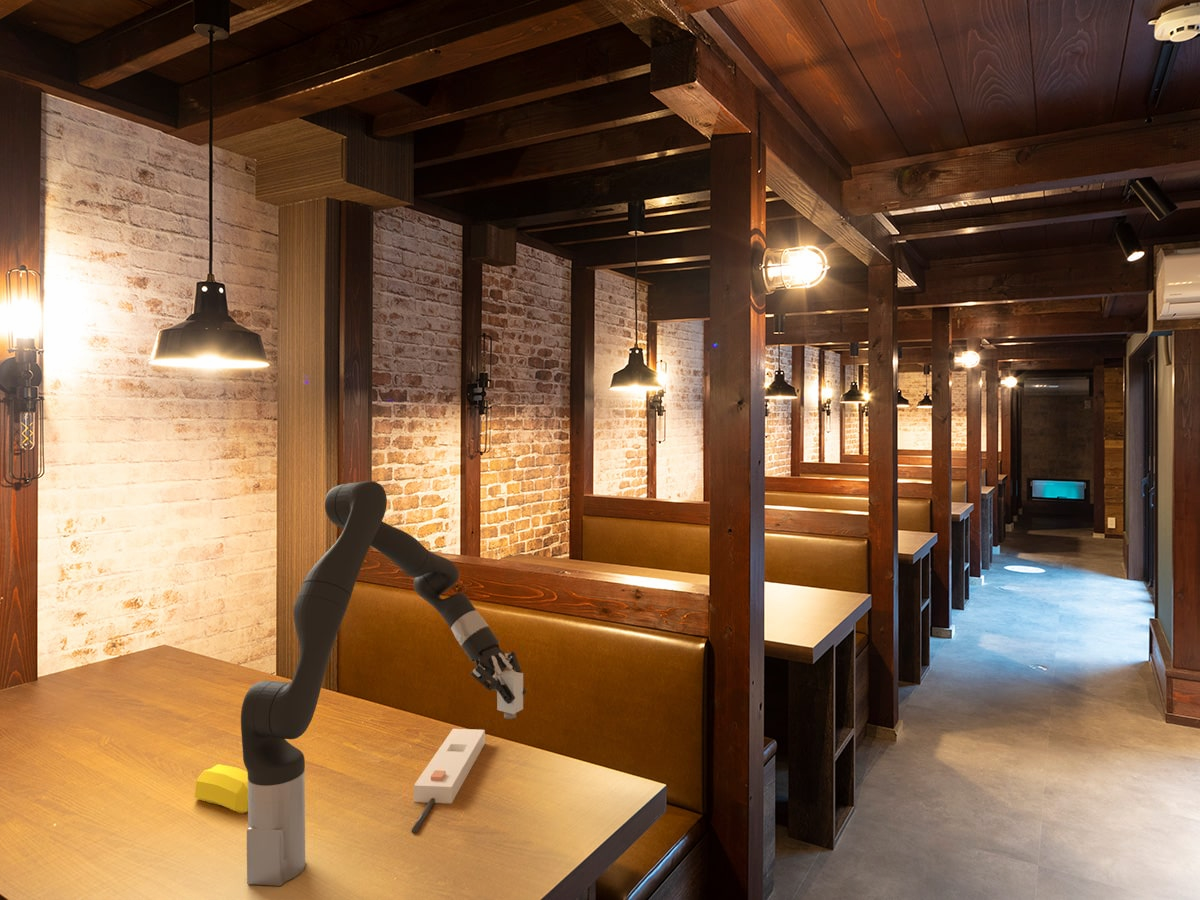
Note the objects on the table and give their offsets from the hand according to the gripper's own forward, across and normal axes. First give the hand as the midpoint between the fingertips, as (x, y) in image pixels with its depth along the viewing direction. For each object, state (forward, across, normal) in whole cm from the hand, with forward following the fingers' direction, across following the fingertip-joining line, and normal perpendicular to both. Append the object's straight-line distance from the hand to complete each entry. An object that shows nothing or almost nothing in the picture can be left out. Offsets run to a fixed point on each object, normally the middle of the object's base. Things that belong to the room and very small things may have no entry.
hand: (517, 698), depth 168 cm
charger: (+2, 0, +5) cm, 5 cm away
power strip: (+4, -9, +22) cm, 24 cm away
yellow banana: (-19, -38, +46) cm, 62 cm away
